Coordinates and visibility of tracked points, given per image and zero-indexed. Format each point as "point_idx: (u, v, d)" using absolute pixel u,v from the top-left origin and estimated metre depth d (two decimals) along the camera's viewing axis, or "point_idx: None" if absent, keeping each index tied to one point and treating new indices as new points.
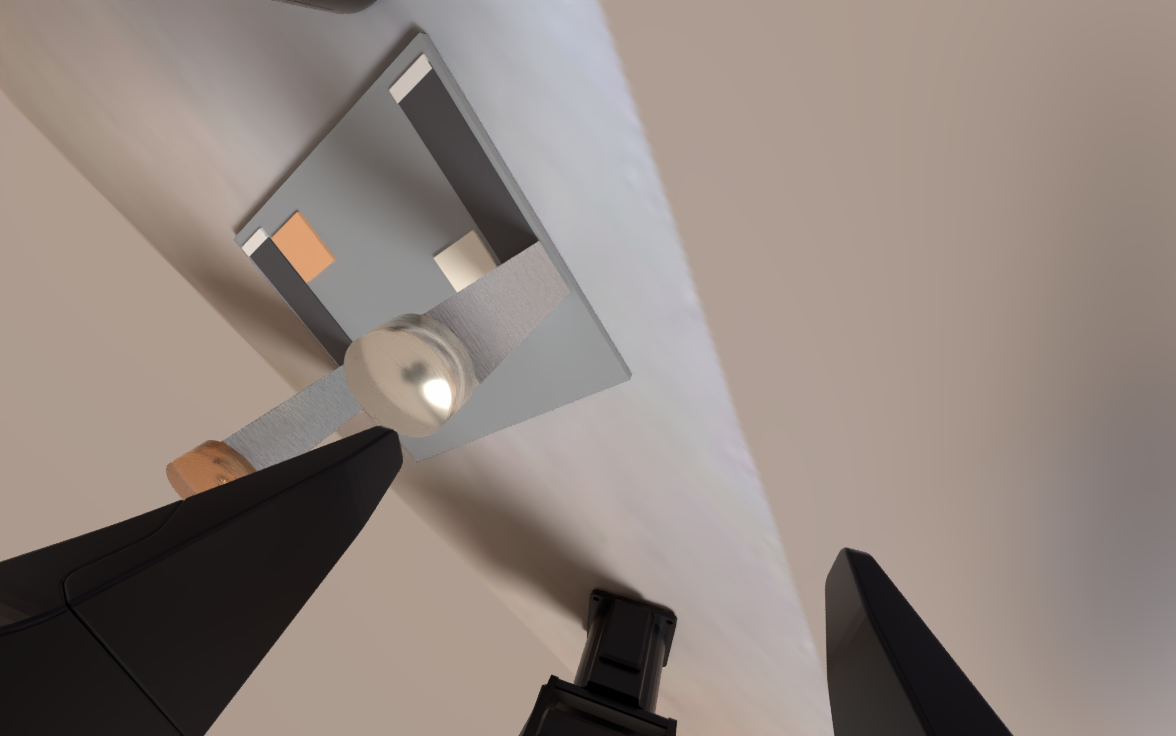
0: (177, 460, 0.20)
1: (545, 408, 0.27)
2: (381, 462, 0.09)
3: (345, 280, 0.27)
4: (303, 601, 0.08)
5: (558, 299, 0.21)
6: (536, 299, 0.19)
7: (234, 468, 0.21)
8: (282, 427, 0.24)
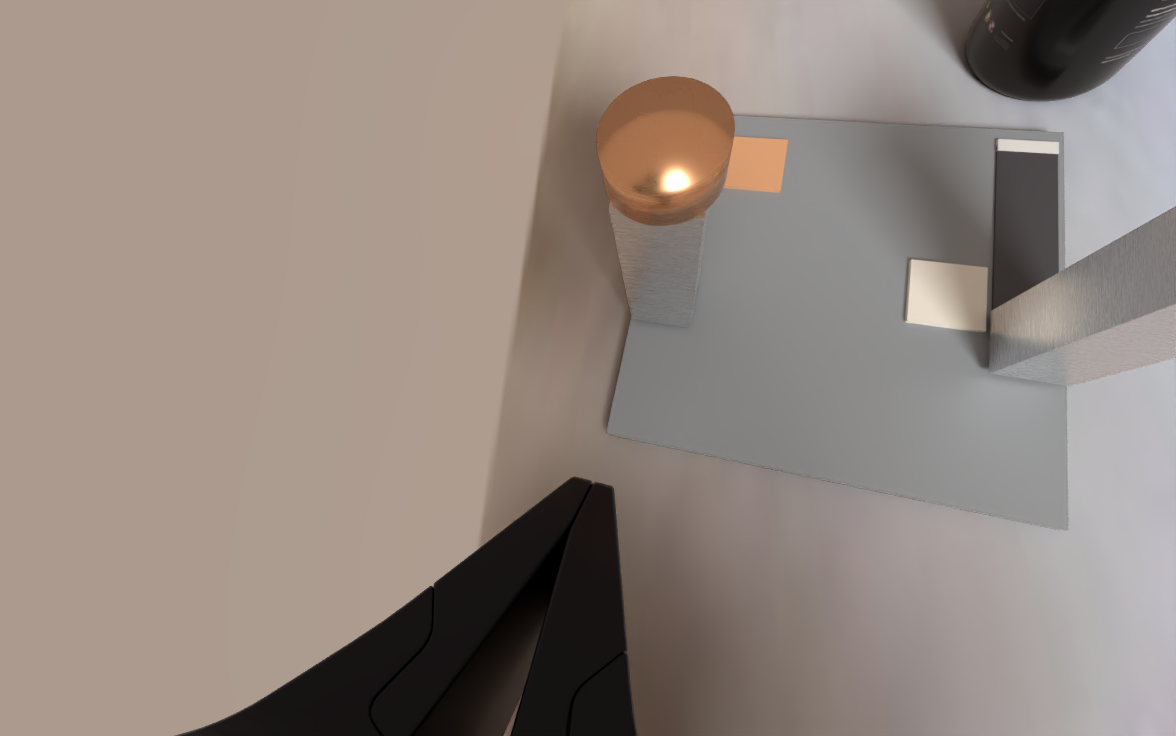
0: (693, 83, 0.12)
1: (900, 489, 0.19)
2: None
3: (767, 212, 0.23)
4: (524, 684, 0.07)
5: (1102, 373, 0.17)
6: None
7: (729, 159, 0.13)
8: (707, 213, 0.16)
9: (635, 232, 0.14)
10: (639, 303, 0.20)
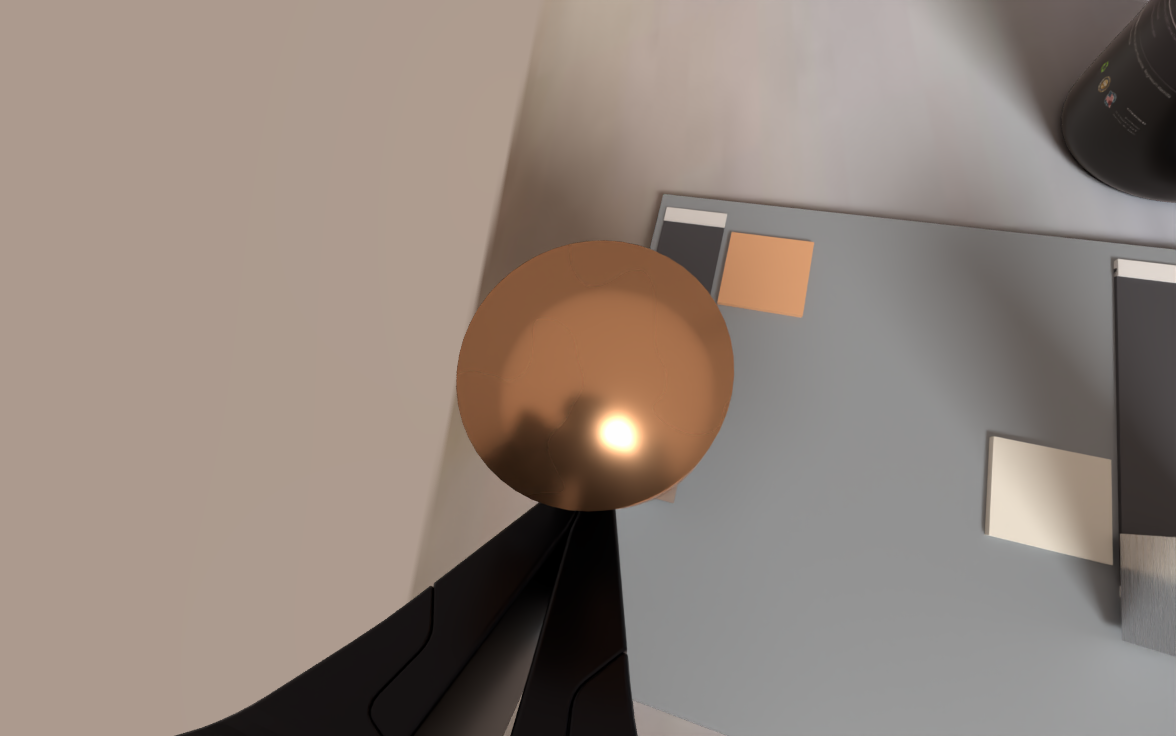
0: (656, 256, 0.06)
1: None
2: None
3: (783, 345, 0.16)
4: (524, 685, 0.07)
5: None
6: None
7: None
8: None
9: None
10: None
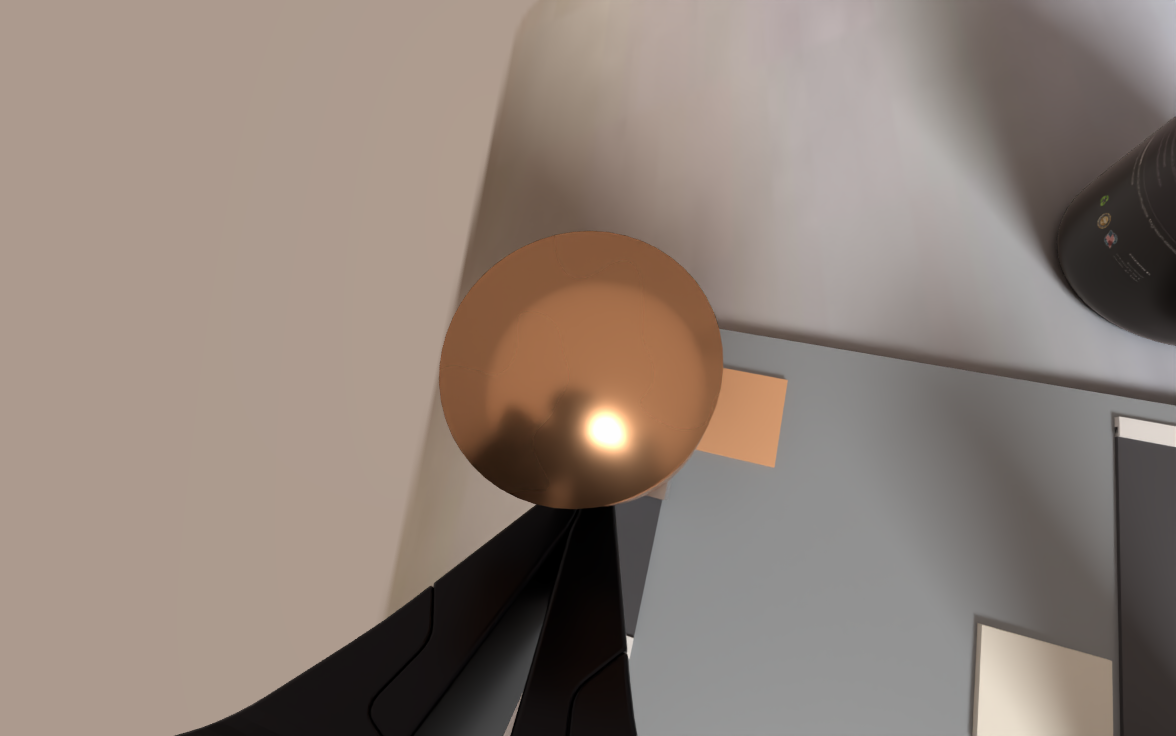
0: (643, 247, 0.06)
1: None
2: None
3: (753, 500, 0.15)
4: (524, 685, 0.07)
5: None
6: None
7: None
8: None
9: None
10: None
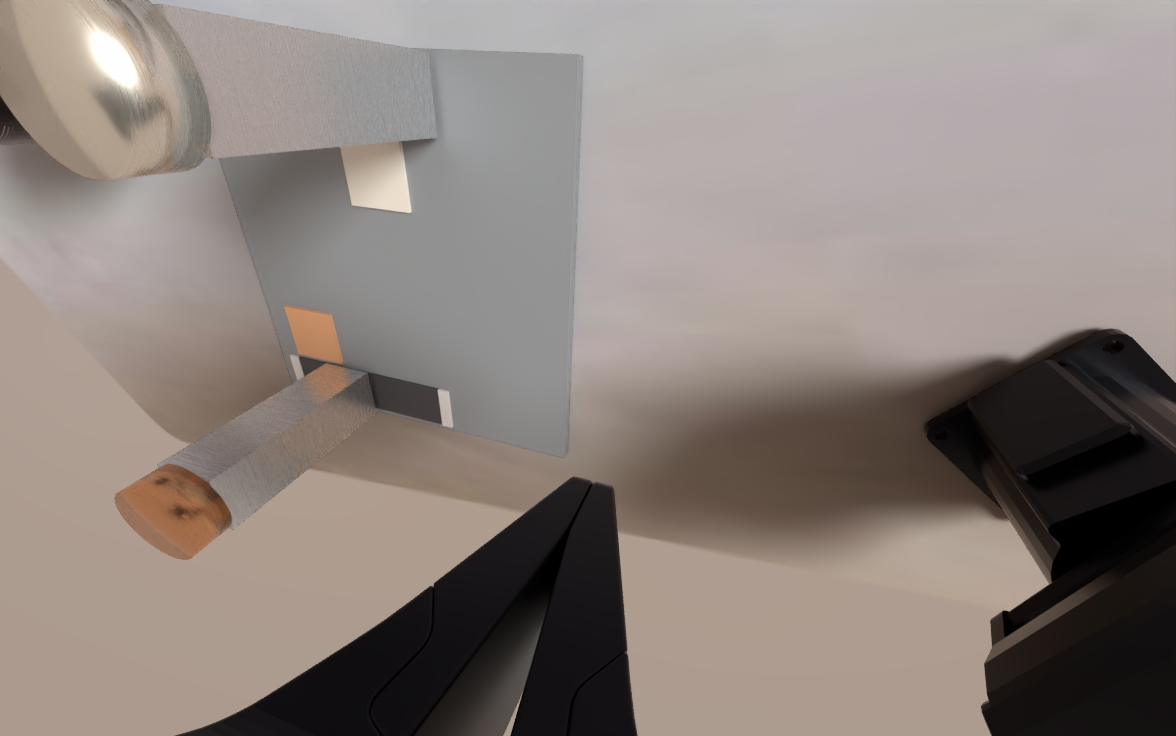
0: None
1: (566, 225, 0.18)
2: None
3: (351, 325, 0.25)
4: (524, 685, 0.07)
5: (399, 46, 0.15)
6: None
7: (160, 475, 0.18)
8: (232, 435, 0.20)
9: (252, 498, 0.20)
10: (348, 427, 0.25)
